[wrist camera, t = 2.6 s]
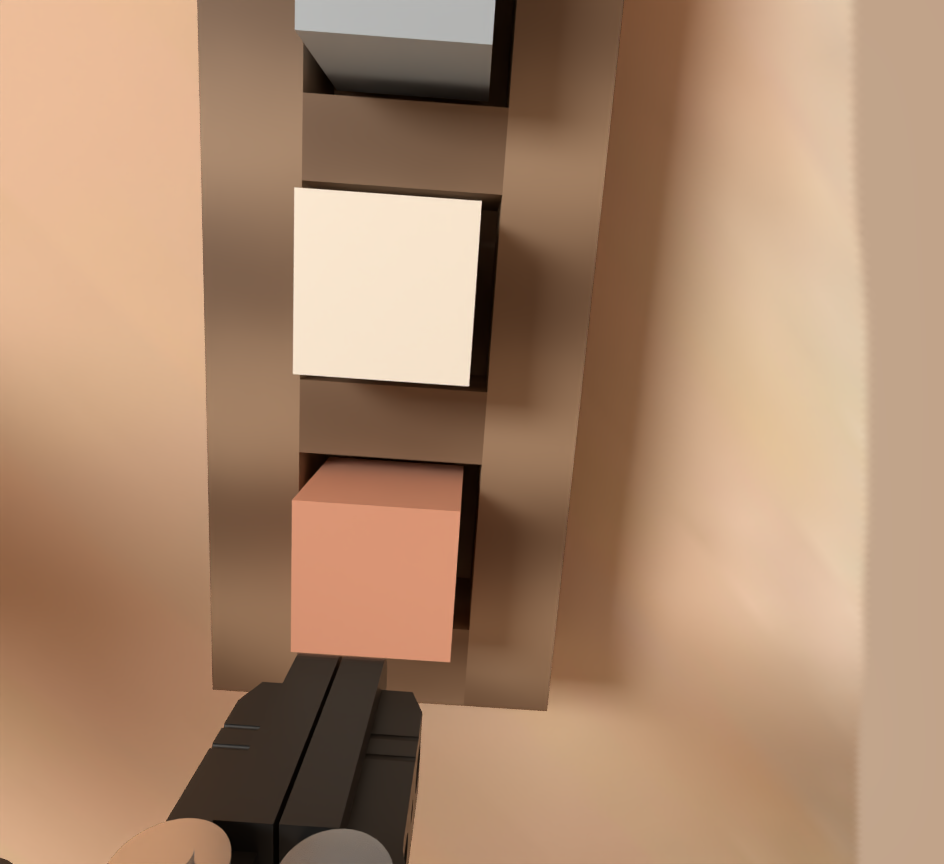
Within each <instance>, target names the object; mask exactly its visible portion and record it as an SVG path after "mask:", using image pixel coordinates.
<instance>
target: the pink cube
mask: <svg viewBox="0 0 944 864" xmlns="http://www.w3.org/2000/svg"><path fill="white" fill-rule="evenodd" d="M463 468H464V466H457V465H443V464H428V463H413V462H399V461H384V460H369V459H355V458H340V457H329V458H328V459H327V461H326V462H325V463H324V464H323V465H322V466H321V467H320V469H319V470H318V471H317V472H316V473H315V474H314V475H313V477H312V478H311V479H310V480H309V481H308V482H307V483H306V485H305V486H304V487H303V488H302V489H301V490H300V491H299V493H298V494H297V495H296V496H295V497H294V498H293V499H292V552H291V652H299V653H315V654H330V655H345V656H361V657H376V658H391V659H407V660H422V661H437V662H450V657H451V643H452V628H453V614H454V599H455V585H456V570H457V556H458V542H459V527H460V513H461V498H462V483H463Z"/></svg>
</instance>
